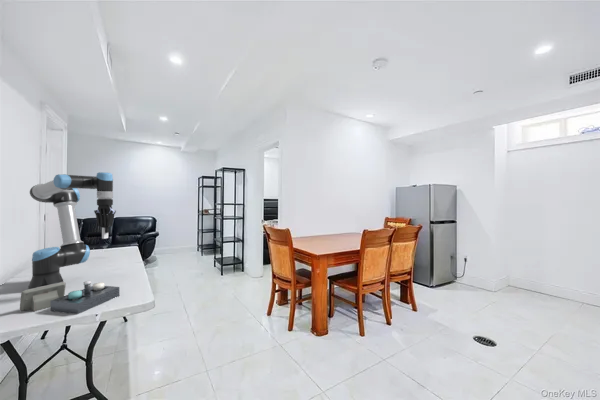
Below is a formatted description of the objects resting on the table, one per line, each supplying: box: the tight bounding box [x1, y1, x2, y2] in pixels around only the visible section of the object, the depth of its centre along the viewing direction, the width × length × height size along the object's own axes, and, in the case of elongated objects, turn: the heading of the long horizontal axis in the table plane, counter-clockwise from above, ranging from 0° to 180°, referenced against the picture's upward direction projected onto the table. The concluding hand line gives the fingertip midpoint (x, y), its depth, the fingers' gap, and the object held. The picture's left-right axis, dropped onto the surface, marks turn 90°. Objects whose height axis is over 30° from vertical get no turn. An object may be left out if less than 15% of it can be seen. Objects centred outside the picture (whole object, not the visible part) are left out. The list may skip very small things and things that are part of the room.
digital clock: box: [19, 281, 67, 313], centre depth 126 cm, size 16×9×11 cm, turn 137°
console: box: [50, 285, 120, 315], centre depth 130 cm, size 16×22×5 cm
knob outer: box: [67, 289, 82, 301], centre depth 124 cm, size 5×5×7 cm
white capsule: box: [83, 280, 92, 294], centre depth 130 cm, size 3×3×6 cm
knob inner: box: [92, 281, 105, 292], centre depth 136 cm, size 5×5×7 cm
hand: (105, 238), depth 149 cm, fingers closed
